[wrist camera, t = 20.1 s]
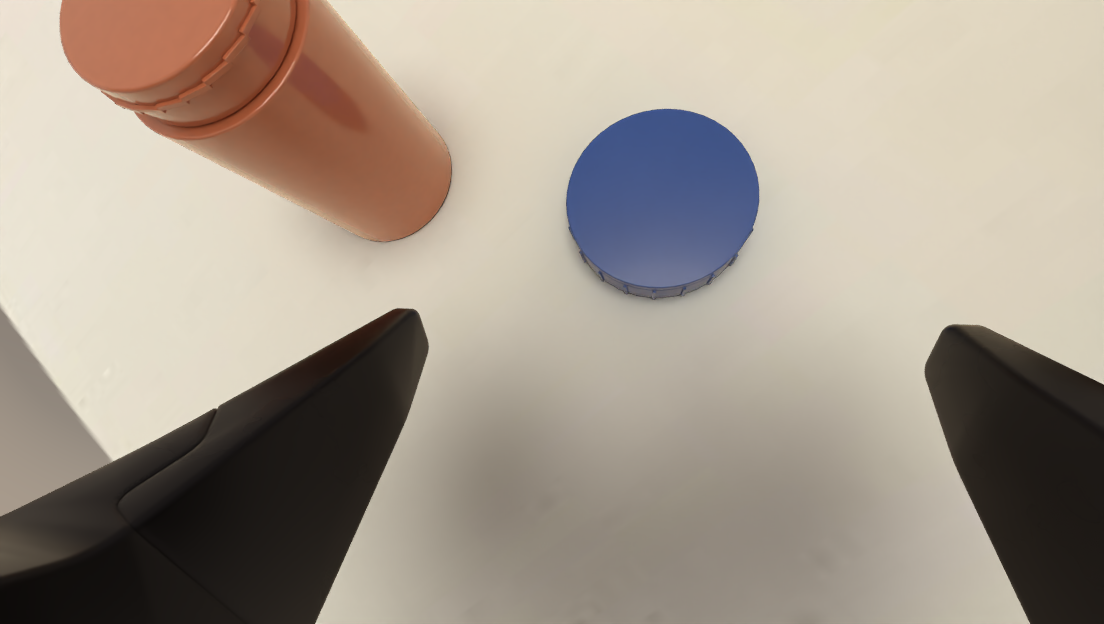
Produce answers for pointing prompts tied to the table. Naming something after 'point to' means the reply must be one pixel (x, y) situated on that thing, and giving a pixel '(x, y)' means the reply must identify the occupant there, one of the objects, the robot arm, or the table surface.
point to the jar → (269, 102)
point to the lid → (662, 202)
